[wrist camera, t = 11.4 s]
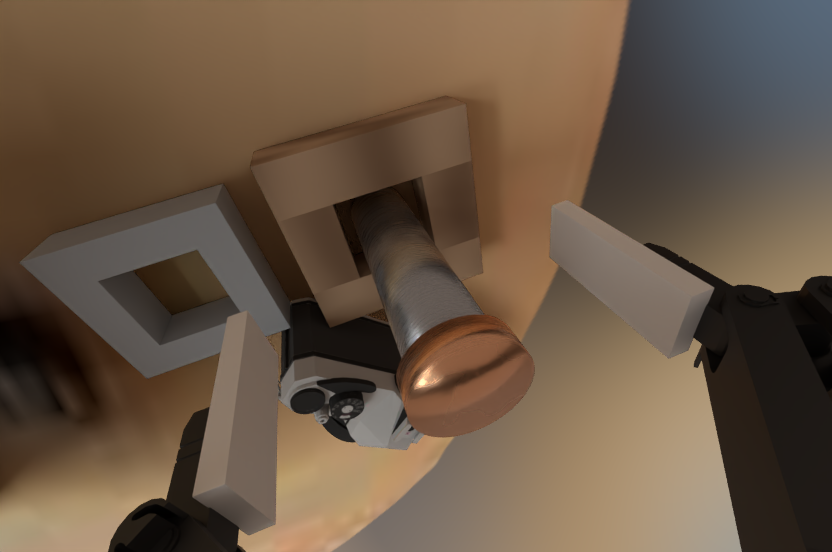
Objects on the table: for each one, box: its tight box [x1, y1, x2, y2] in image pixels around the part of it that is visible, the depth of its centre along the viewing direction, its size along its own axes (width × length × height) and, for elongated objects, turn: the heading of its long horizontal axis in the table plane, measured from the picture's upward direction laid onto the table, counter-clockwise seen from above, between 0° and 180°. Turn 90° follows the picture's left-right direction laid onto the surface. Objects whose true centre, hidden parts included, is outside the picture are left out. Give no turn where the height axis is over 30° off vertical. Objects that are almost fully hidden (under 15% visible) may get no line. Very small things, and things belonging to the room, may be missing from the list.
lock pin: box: [351, 187, 535, 437], centre depth 16 cm, size 4×4×13 cm
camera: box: [278, 297, 425, 450], centre depth 23 cm, size 13×8×9 cm, turn 58°
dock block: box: [250, 96, 483, 328], centre depth 20 cm, size 10×10×2 cm
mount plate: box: [19, 184, 290, 379], centre depth 18 cm, size 8×8×2 cm
